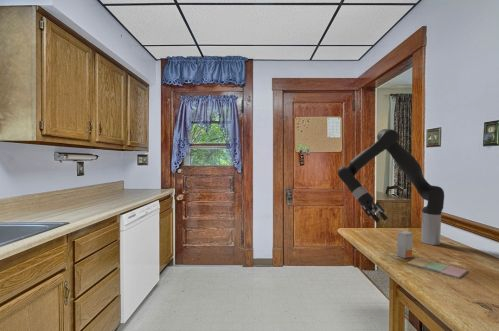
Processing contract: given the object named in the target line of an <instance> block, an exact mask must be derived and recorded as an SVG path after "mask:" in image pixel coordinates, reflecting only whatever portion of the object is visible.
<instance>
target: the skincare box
mask: <svg viewBox="0 0 499 331" xmlns="http://www.w3.org/2000/svg"><path fill="white" fill-rule="evenodd" d="M396 244H397V247H396V248H397V249H396V256H398V257H400V258H402V259H408V258H412V257H413V244H414V233H413V232H412V231H407V230H405V231H404V230H402V231H398V232H397V243H396Z"/></svg>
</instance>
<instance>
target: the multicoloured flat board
mask: <svg viewBox="0 0 499 331" xmlns="http://www.w3.org/2000/svg"><path fill="white" fill-rule="evenodd" d="M406 265H409V266H412V267H416V268H419V267H420V269H424V270H426V269H427V271H430V272H433V273H437V274H441V275H444V276H448V277H452V278H454V277H455V278H454V279H457V280H458V279H461V278H462V277H463V276H465V275H466V274H467V273H468V272H469V271H468V270H467V269H463V268H460V267H456V266H451V265H447V264H445V263H440V262H436V261H432V260H428V259H425V258H421V257H415V258H413V259H411V260H409V261H407V262H406Z"/></svg>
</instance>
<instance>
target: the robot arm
mask: <svg viewBox="0 0 499 331" xmlns="http://www.w3.org/2000/svg"><path fill="white" fill-rule="evenodd" d="M376 139H377V141H376V142H375V143H373V144H372V145H371V146H370V147H368V148H366V149H364V150H363V151H361V152H360V153H358V154H357V155H356V156H355V157H354V158H352V159H351V161H350V162H349V165H348V166H347V167H346V166H341V167H339V168H338V170H337V176H338V177H339V178H340V180H341V181H342V182H343V183H344V184H345V186H346V187H347V188H348V190H349V191H350V192H351V194H352V196H353V197H354V198H355V199H356V200H357V202H358V204H360V205H359V206H361V209H362V210H363V211H364V213H365V214H366V215H367V216H368V217H370V218H372V219H373V221H374V222H375V223H379V222H380V221H381V219H382V220H383V221H387V220H388V219H389V217H388V216H387V215H386V214H385V209H384V208H383V207H382V206H381V205H380V204H379V203H378V202H376V203H375V202H374V200H375V198H374V197H373V196H372V195H371V193H370V192H369V191H368V190H367V189H366V187H364V186H363V185H362V184H361V181H359V180H358V179H357V178H356V177H355V176H356V174H358V172H359V171H360V170H362V168H364V167H365V166H366V165H367V164H368V163H370V162H371V161H372V160H373V159H375V157H377V156H378V155H380V154H381V153H382V152H384V151H385V150H386V151H387V152H388V154H390V156H391V157H392V160H394V162H395V163H396V165H397V166H398V167H399V168H400V170H401V171H402V172H403V173H404V175H405V176H406V178H408V180H409V181H410V182H411V183H412V185H413V186H414V187H415V189H416V191H417V193H418V195H419V196H420V197H421V198H422V200H424V201H426V202H427V203H426V205H425V206H424V207H422V209H421V210H422V213H421V214H422V215H421V236H420V237H421V240H420V242H421V243H423V244H426V245H432V246H440V245H441V232H442V231H441V229H442V228H441V227H442V226H441V225H442V212H443V209H444V203H445V202H444V201H445V192H444V189H443V187H441V186H437V185H431V184H430V183H429V182H428V181H427V179H425V177H424V175H423V170H422V167H421V164H420V163H419V162H418V161H417V159H416V158H415V157H414V155H412V154H411V153H410V152H409V151H407V149H405V148H404V147H403V146H401V144H400V143H399V142H398V141H399V133H398V132H397V131H396V130H394V129H391V128H384V129H380V130H379V131H378V133H377V136H376ZM376 214H378V215H379V216H380V217H381V219H380V217H378V216H377V215H376Z"/></svg>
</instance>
